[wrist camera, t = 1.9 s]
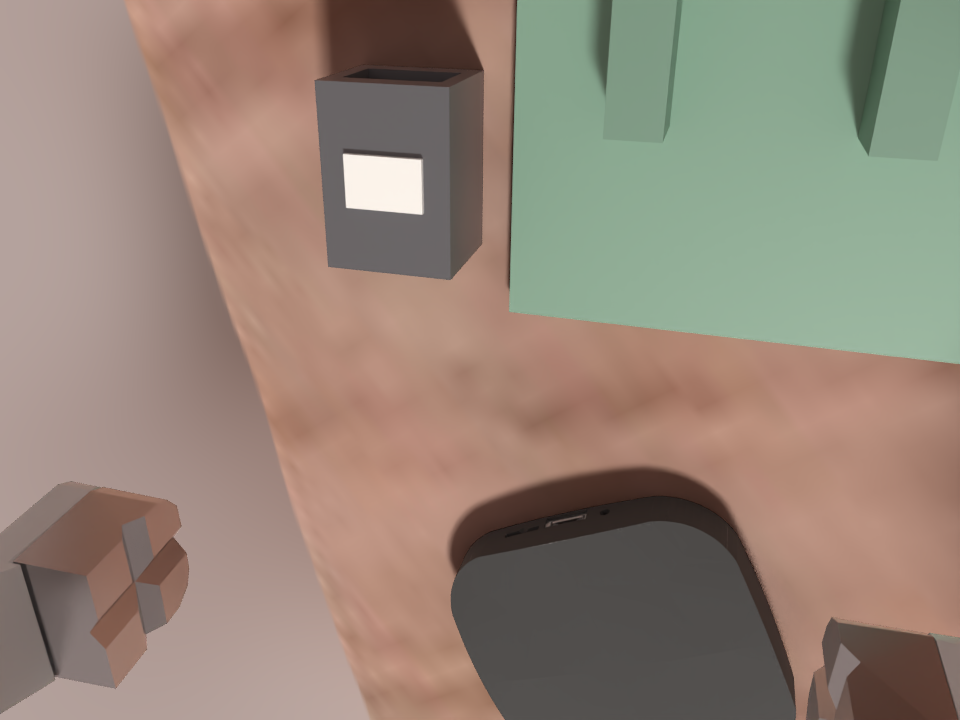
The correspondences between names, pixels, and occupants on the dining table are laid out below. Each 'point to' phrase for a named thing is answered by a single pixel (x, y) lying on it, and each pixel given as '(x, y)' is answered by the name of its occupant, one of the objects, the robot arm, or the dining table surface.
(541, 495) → the dining table surface
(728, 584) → the media streaming box
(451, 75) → the labelled grey storage bin
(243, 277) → the dining table surface
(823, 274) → the board
